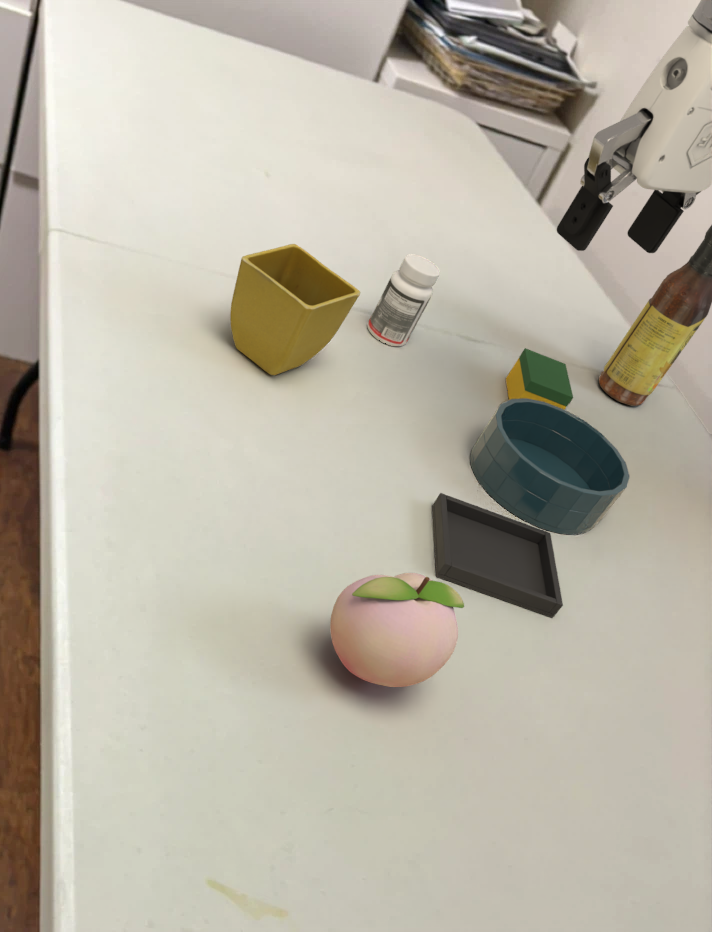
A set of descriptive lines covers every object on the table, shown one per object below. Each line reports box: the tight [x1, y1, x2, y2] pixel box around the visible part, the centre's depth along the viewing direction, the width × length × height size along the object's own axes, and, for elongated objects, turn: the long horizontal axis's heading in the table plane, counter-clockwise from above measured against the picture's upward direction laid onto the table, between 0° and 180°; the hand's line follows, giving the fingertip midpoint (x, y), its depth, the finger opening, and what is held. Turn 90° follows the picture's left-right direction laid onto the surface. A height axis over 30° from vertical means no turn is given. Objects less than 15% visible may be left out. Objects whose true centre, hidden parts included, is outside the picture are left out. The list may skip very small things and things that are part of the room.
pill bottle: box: [367, 253, 441, 347], centre depth 116 cm, size 5×5×8 cm
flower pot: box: [229, 243, 361, 376], centre depth 104 cm, size 9×9×9 cm
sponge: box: [505, 347, 574, 410], centre depth 118 cm, size 5×7×4 cm
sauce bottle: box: [598, 224, 712, 407], centre depth 122 cm, size 7×6×20 cm
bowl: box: [469, 398, 630, 536], centre depth 107 cm, size 14×14×5 cm
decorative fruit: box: [329, 572, 465, 688], centre depth 78 cm, size 9×8×10 cm
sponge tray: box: [431, 492, 564, 619], centre depth 97 cm, size 11×10×2 cm
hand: (605, 243), depth 92 cm, fingers open, 9 cm apart
